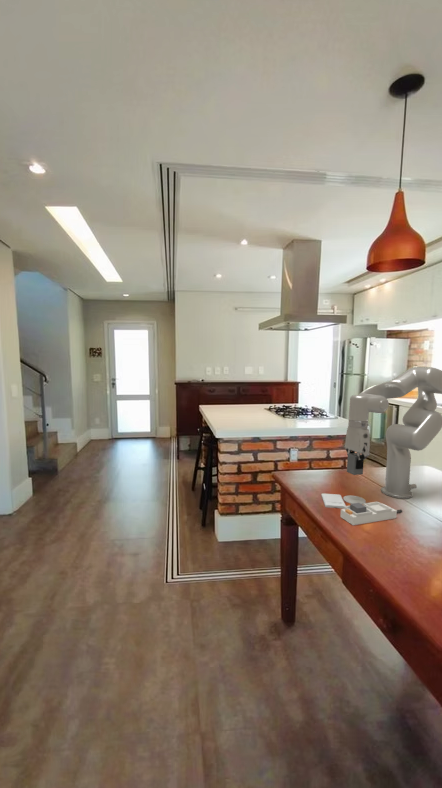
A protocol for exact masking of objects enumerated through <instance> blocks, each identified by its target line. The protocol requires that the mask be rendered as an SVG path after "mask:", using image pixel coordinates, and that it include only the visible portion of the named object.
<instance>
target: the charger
mask: <svg viewBox="0 0 442 788" xmlns="http://www.w3.org/2000/svg"><path fill="white" fill-rule="evenodd" d="M361 455H362V454H360V456H361ZM357 459H358V457H357V452H355V453H348V455H347V461H346V464H347V465H346V472H347V473H348V474H351V475H353V476H358V475H363V474H364V468H363V469H356V461H357Z"/></svg>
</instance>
